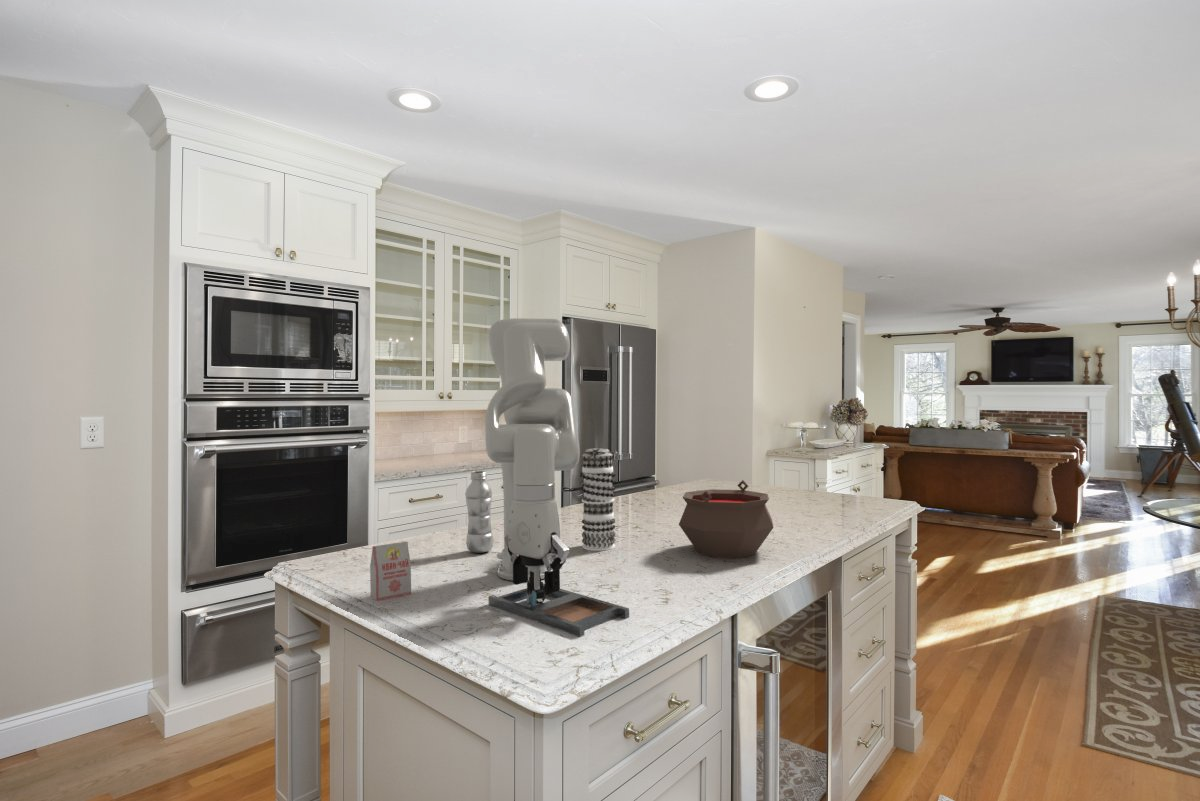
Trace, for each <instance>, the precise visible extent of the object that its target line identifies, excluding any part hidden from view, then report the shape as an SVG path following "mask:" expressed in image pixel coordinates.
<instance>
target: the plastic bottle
mask: <svg viewBox="0 0 1200 801" xmlns="http://www.w3.org/2000/svg"><path fill="white" fill-rule="evenodd" d="M470 480H471V481H470V483H469V485H468V486H467V488H466V490H465V493H464V495H465V503H466V507H467V515H468V516H467V519H468V520H467V521H468V523H467V524H468V525H467V533H466V539H465V540H466V541H465V543H466V548H467V550H468V551H469V552H470V553H478V554H481V553H485V552H486V553H487V552H490V551H491V550H492V549H493V547H494V541H495V540H494V536H493V532H492V522H491V512H492V511H491V509H492V508H491V506H492V499H493V498H492V496H493V491H492V488H491V487H490V485H489V484H488V482H486V480H487V471H484V470H479V471H478V470H477V471H471V472H470Z"/></svg>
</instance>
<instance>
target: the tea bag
mask: <svg viewBox="0 0 1200 801" xmlns="http://www.w3.org/2000/svg"><path fill="white" fill-rule="evenodd" d="M371 549H372V550H371V557H370V565H369V572H370V573H369V575H370V576H369V577H370V581H369V582H370V584H369V585H370V597H371V598H373V599H374V600H375V601H378V602H379V601H381V600H387V599H388V600H389V599H392V598H397V597H401V596H407V595H411V594H412V566H411V565H412V564H411V563H412V562H411V557H410V550H409V542H408V540H407V541H400V542H394V543H389V544H388V543H387V544H382V545H381V544H380V545H374V546H372V548H371Z"/></svg>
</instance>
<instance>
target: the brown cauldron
mask: <svg viewBox="0 0 1200 801" xmlns="http://www.w3.org/2000/svg"><path fill="white" fill-rule="evenodd" d="M742 485H744V487H743V486H742ZM737 487H738V489H713V488H712V489H704V490H703V489H701V490H694V491H686V492H685V493H684V494H683V496H682V499H683V500H684V502H685V503H686V504H685V505H686V506H685V507H684V510H683V513H682V514H681V518H680V520H679V523H678V526H679V527H680V529H681V530H682V532H684V534H685V536H686V537H687V539H688V540H689V541H690V544H692V546H693V547H694V549H695V550H696V552H697V553H698V554H702V555H705V556H708V557H711V558H716V559H717V558H719V559H720V558H721V559H722V558H723V559H724V558H725V559H741V558H747V557H751V556H755V555H756V553H757V552H758V550H759V549H760V547H761V546H762V544H763V543H764V542H765V541H766V539H767V538H768V536H769V534H771V532H772V531H773V529H774V522H773V518H772V516H771V514H770V512H769V509H768V507H767V505H766V504H767V503H768V501H769V499H770V497H769V494H768V493H763V492H758V491H753V490H747V488H749V485H748V484H747V483H746V482H745V480H743V479H742V480H741V481H740V482H739V483H738V484H737Z"/></svg>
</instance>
